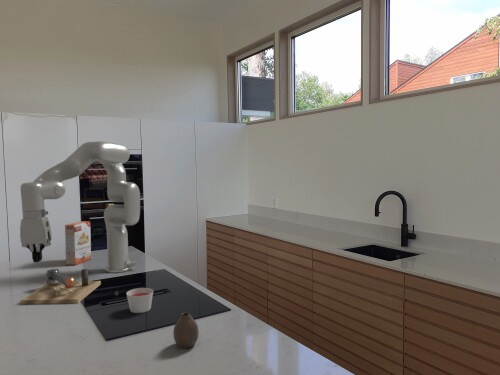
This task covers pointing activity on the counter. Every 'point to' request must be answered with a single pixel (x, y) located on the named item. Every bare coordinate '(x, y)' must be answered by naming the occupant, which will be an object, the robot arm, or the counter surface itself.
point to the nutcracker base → (62, 291)
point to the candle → (140, 299)
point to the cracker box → (77, 242)
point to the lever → (60, 278)
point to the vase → (185, 331)
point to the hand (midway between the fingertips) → (37, 261)
